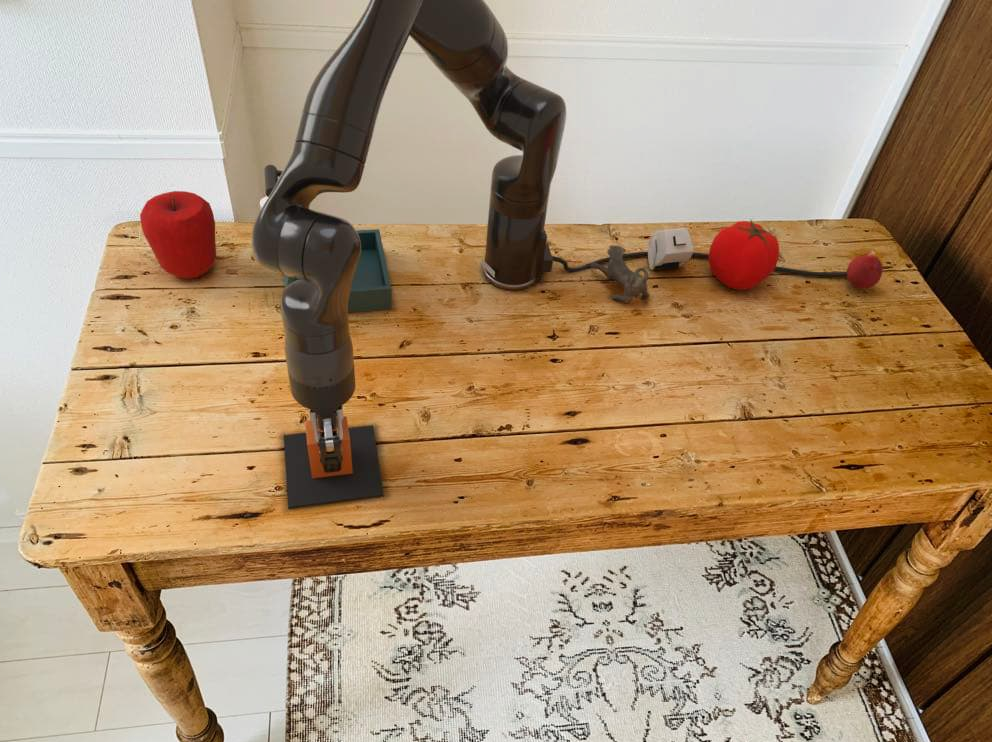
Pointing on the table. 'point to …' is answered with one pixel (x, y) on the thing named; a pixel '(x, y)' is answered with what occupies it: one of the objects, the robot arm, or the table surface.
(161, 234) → the apple
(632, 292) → the dog figurine
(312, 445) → the block
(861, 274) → the onion
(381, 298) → the box
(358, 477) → the mat
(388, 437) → the table surface
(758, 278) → the tomato
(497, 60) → the robot arm
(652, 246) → the light grey block
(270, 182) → the lunchbox lid
